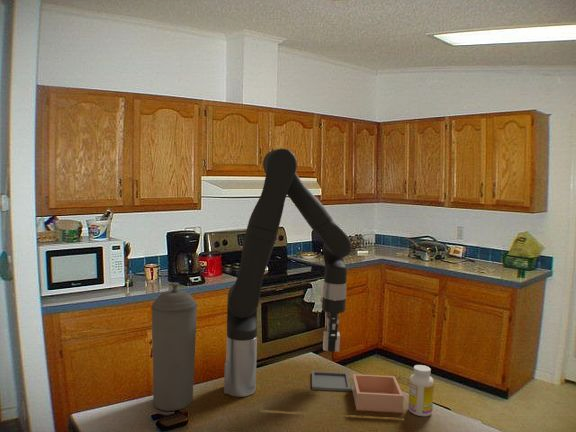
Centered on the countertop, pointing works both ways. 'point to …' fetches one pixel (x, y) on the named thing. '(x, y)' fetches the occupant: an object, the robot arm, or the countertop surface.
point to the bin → (377, 393)
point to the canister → (173, 349)
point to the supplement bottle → (421, 391)
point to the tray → (330, 381)
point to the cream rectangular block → (325, 341)
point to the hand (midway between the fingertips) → (330, 348)
